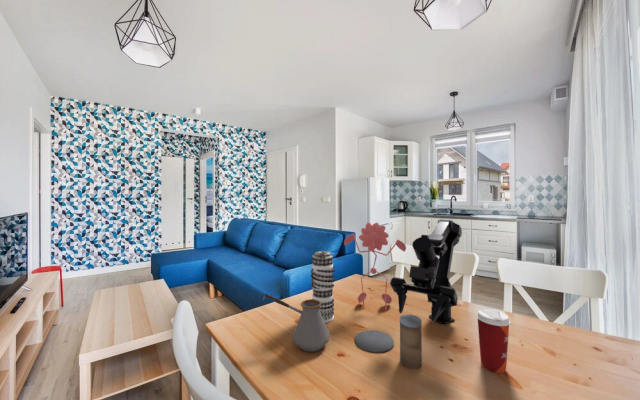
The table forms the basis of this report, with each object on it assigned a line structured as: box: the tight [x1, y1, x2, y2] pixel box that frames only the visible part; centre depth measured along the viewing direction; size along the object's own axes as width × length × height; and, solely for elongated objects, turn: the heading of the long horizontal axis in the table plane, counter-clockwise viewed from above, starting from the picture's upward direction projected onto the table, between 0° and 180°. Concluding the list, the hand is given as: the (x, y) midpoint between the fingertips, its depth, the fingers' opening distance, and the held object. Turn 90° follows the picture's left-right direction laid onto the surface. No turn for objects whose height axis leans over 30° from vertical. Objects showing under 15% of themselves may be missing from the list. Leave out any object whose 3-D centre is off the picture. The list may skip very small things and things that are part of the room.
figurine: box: [343, 222, 407, 311], centre depth 114 cm, size 15×26×35 cm, turn 80°
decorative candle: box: [310, 250, 336, 324], centre depth 100 cm, size 9×9×25 cm
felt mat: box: [354, 329, 395, 354], centre depth 83 cm, size 12×12×1 cm
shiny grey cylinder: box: [399, 314, 423, 370], centre depth 72 cm, size 6×6×12 cm
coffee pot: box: [262, 293, 330, 353], centre depth 82 cm, size 21×12×15 cm, turn 81°
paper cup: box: [475, 308, 511, 374], centre depth 70 cm, size 8×8×14 cm
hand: (415, 316), depth 75 cm, fingers open, 9 cm apart
